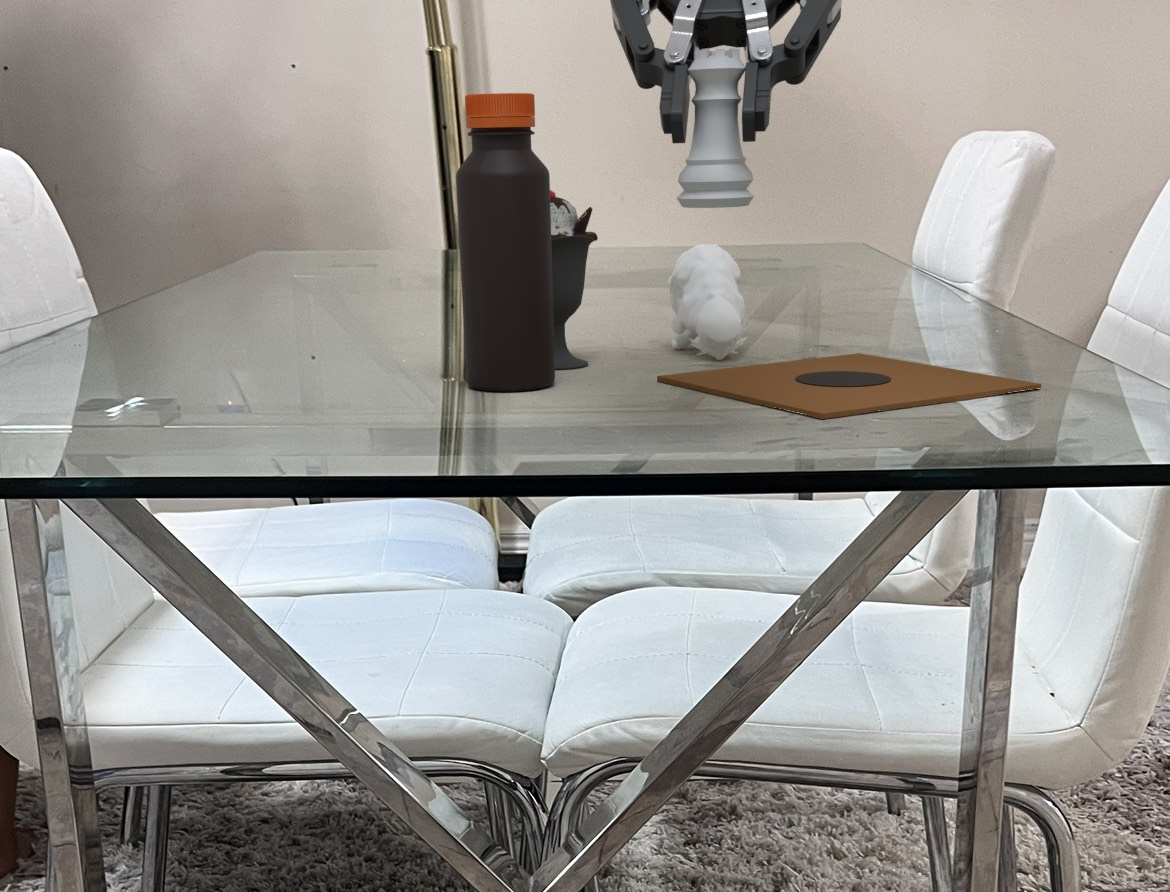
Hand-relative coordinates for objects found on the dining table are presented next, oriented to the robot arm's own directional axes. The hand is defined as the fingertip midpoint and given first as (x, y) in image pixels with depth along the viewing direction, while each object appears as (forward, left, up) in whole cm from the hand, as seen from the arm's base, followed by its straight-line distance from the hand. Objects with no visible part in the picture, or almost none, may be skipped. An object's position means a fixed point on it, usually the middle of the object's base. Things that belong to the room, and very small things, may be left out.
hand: (713, 129), depth 77 cm
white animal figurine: (+33, -23, -17) cm, 44 cm away
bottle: (+28, -1, -17) cm, 33 cm away
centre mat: (+13, -21, -17) cm, 30 cm away
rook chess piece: (+2, -1, -4) cm, 5 cm away
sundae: (+35, -9, -17) cm, 40 cm away
